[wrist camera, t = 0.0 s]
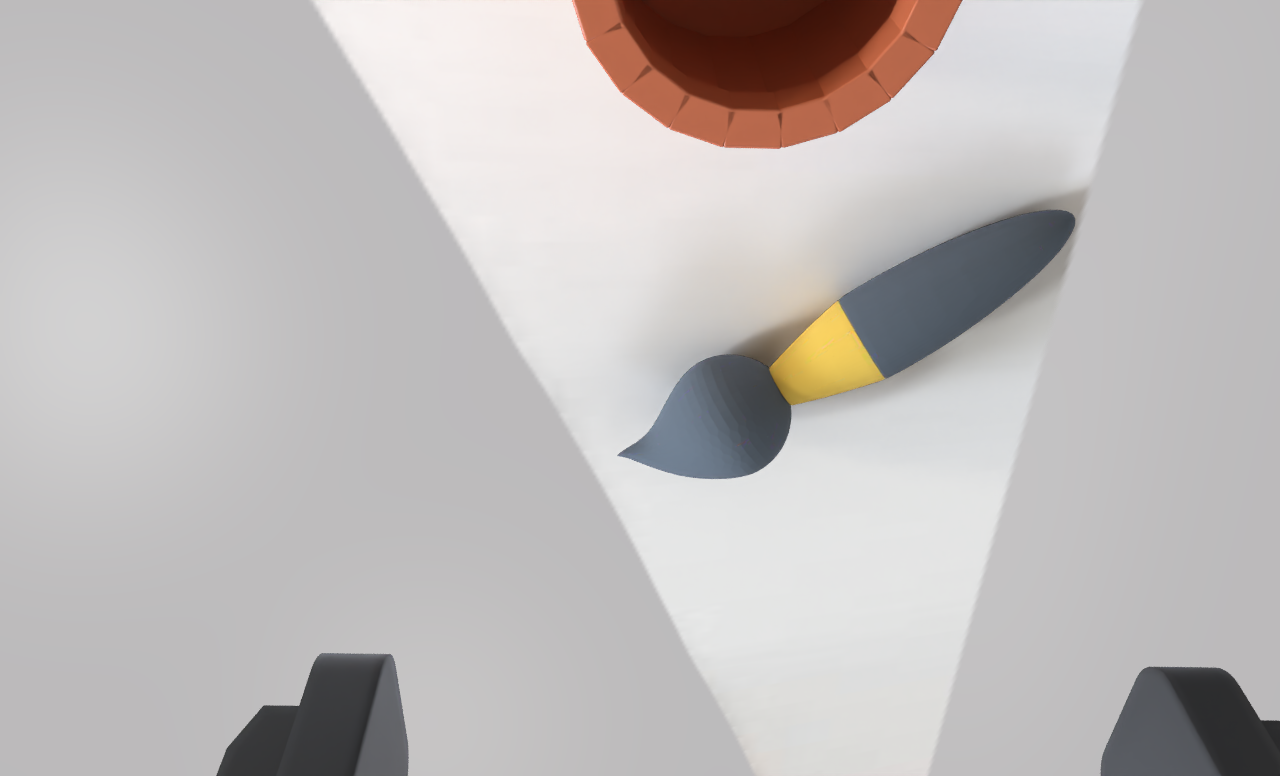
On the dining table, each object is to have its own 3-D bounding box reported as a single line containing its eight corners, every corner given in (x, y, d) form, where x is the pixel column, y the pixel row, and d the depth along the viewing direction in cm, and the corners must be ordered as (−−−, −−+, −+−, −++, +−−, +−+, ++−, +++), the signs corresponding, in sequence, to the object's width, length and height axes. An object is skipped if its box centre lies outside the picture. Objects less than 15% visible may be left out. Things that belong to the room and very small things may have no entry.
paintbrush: (1018, 128, 38) (1066, 182, 34) (1076, 225, 40) (1127, 287, 36) (602, 400, 45) (599, 473, 40) (671, 470, 47) (675, 545, 43)
